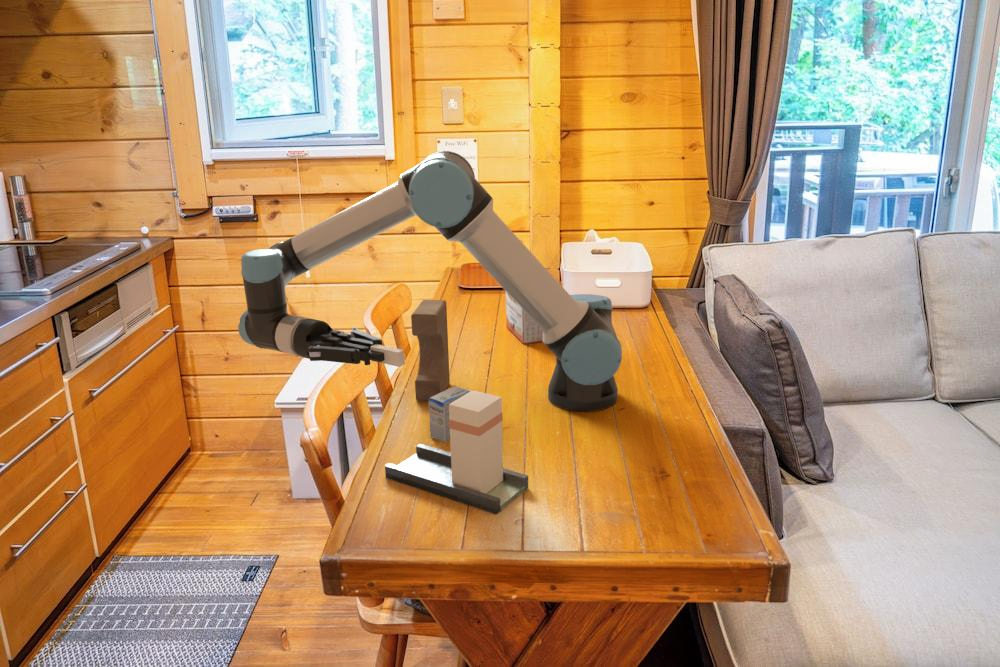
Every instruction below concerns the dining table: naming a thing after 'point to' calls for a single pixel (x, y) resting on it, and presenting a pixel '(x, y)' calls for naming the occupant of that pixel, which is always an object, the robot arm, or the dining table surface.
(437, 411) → the medicine box
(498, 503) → the chute
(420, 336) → the decorative block
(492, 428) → the block
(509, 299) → the cracker box
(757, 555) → the dining table surface
